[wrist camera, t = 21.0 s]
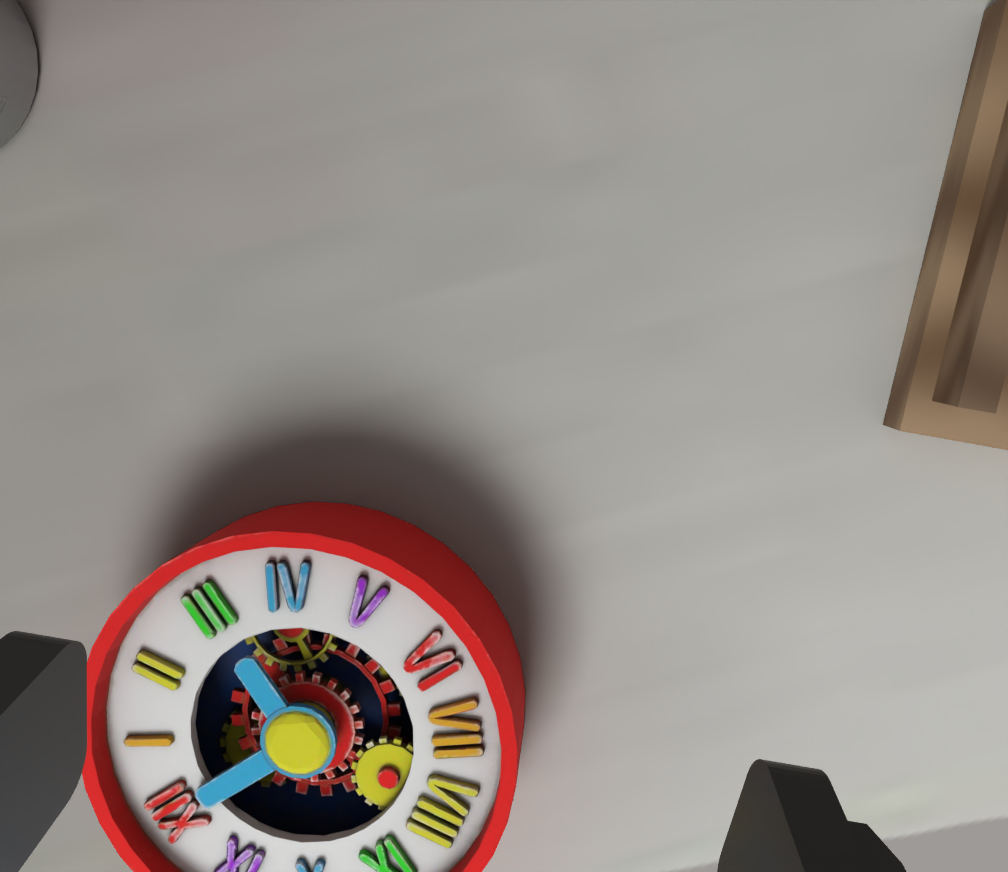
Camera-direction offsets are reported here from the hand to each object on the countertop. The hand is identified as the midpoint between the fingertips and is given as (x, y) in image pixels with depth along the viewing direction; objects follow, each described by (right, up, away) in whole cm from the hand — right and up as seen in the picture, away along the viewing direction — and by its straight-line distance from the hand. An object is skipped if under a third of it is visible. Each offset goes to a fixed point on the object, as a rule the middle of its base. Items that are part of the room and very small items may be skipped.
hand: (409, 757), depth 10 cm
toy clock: (-8, -9, +33) cm, 35 cm away
